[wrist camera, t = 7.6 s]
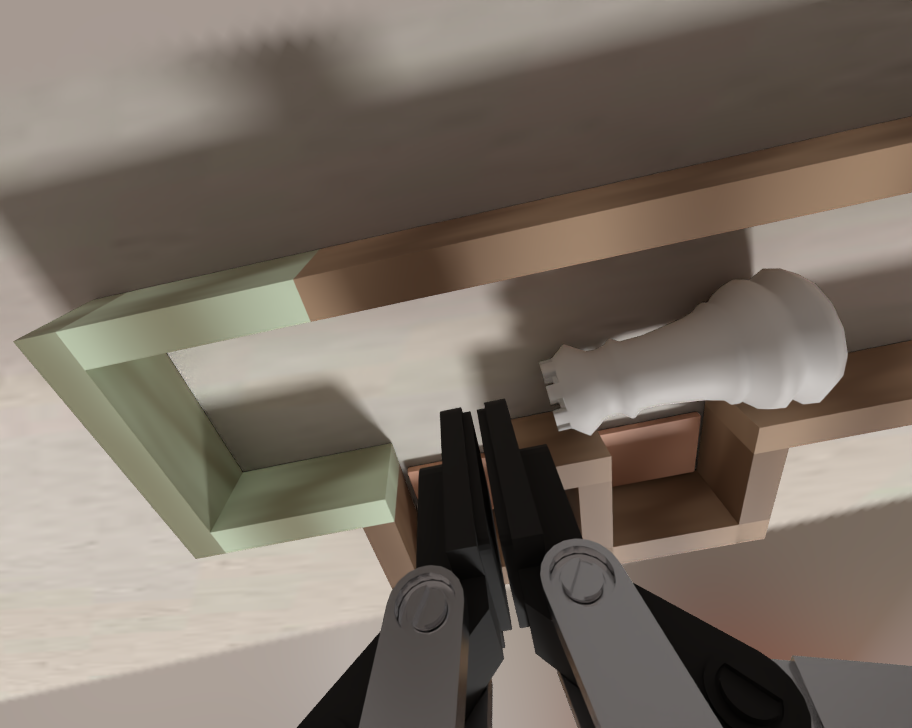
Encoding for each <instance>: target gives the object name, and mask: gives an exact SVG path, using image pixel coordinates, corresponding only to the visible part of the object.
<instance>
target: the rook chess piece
mask: <svg viewBox="0 0 912 728" xmlns="http://www.w3.org/2000/svg"><path fill="white" fill-rule="evenodd" d="M847 357H848V352H847V345H846V339H845V332H844V328H843V325H842V323H841V321H840V319H839V317H838V314H837V312H836V310H835V308H834V306H833V304H832V302H831V301H830V300H829V299H828V298H827V296H826V295H825V294H824V293H823V292H822V291H821V290H820V288H819V287H818V286H817V285H816V284H815V283H813V282H811V281H809V280H808V279H806V278H804V277H802V276H801V275H799V274H796V273H793V272H789V271H786V270H783V269H762V270H760V271H759V272H758V273H757V274H755V275H754V276H753V277H752V278H750V280H739V279H733V280H732V281H730V282H728V283H726V284H725V285H723V286H721V287H720V288H719V289H718V290H717V291H716V292H715V293H714V294H713V295H712V296H711V298H710V299H709V301H708V302H707V303H700V304H699V305H698V306H697V307H696V308H695V309H694V311H693V312H692V313H690V314H688V315H687V316H685V317H683V318H681V319H680V320H677V321H675V322H673V323H670V324H668V325H665V326H663V327H661V328H658V329H656V330H653V331H651V332H648V333H646V334H644V335H641V336H637V337H634V338H630V339H627V340H623V341H616V340H613V339H610V338H609V339H608V340H607V341H606V343H605V344H604V345H603V346H602V347H600V348H597V349H595V350H589V351H583V350H580V349H577V348H574V347H571V346H568V345H565V344H563V345H562V346H561V347H560V349H559V350H558V351H557V352H556V354H555V355H554V356H553V357H552V359H548V360H545V361H541V362H539V365H540V368H541V372H542V375H543V379H544V382H545V384H549V383H553V382H554V384H552V385H548V386H546V389H547V393H548V396H549V400H550V403H551V406H552V405H556V404H560V407H561V409H557V410H553V414H554V417H555V421H556V424H557V428H558V431H562V430H567V429H571V428H572V429H575V430H577V431H580V432H582V433H585V434H587V435H592V434H593V432H594V431H595V430H596V429H597V428H598V427H599V426H600V425H601V423H602V422H603V421H604V420H605V419H606V418H608V417H610V416H613V415H621V414H623V415H625V416H628V417H630V418H635V417H636V416H637V415H638V414H639V412H640V411H641V410H643V409H647V408H651V407H656V406H660V405H666V404H675V403H684V402H693V401H702V400H724V401H726V402H728V403H729V404H731V405H733V404H739V403H741V402H744V403H746V404H748V405H751V406H753V407H755V408H757V409H778V408H786V407H787V406H788V405H789V403H790V402H791V401H792V400H795V401H797V402H799V403H801V404H811V403H820V402H821V401H822V400H823V399H824V397H825V396H826V395H827V394H828V393H829V392H830V391H831V390H832V389H833V388H834V386H835V385H836V384H837V383H838V382H839V380H840V379H841V378H842V377H843V375H844V371H845V366H846V361H847Z"/></svg>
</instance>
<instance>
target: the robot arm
mask: <svg viewBox="0 0 912 728" xmlns="http://www.w3.org/2000/svg"><path fill="white" fill-rule="evenodd" d="M484 405H485V408H484V409H479V410H477V414H478V419H479V425H480V431H481V437H482V443H483V448H484V454H485V460H486V466H487V471H488V477H489V483H490V489H491V495H492V500H493V506H494V512H495V518H496V524H497V529H498V535H499V540H500V544H501V549H502V553H503V558H504V562H505V566H506V571H507V575H508V579H509V583H510V588H511V592H512V596H513V600H514V605H515V609H516V613H517V617H518V621H519V626H520V628H524V627H530V629H531V634H532V639H533V643H534V648H535V653H536V654H537V655H538V656H540V657H541V658H542V659H544V660H545V661H546V662H547V663H549V664H550V665H551V666H553V667H554V668H555V669H557V674H558V677H559V679H560V682H561V685H562V687H563V690H564V693H565V695H566V698H567V701H568V703H569V706H570V709H571V711H572V714H573V717H574V719H575V722H576V725H577V727H578V728H912V666H905V665H893V664H882V663H871V662H860V661H848V660H837V659H825V658H814V657H803V656H792V658H791V660H790V661H786V660H776V659H769V658H768V657H767V656H765V655H764V654H762V653H761V652H759V651H757V650H756V649H754V648H752V647H750V646H748V645H746V644H745V643H743V642H741V641H739V640H737V639H735V638H733V637H732V636H730V635H728V634H726V633H724V632H723V631H721V630H718V629H717V628H715V627H713V626H711V625H709V624H708V623H706V622H704V621H702V620H700V619H699V618H697V617H695V616H693V615H691V614H689V613H688V612H686V611H684V610H682V609H680V608H678V607H676V606H675V605H673V604H671V603H669V602H667V601H666V600H664V599H662V598H660V597H658V596H656V595H654V594H653V593H651V592H649V591H647V590H645V589H643V588H642V587H640V586H638V585H636V584H634V583H632V581H631V579H630V578H629V576H628V575H627V573H626V571H625V570H624V568H623V567H622V565H621V563H620V562H619V561H618V559H617V558H616V557H615V556H614V555H613V553H612V552H611V551H609V550H608V549H607V548H605V547H604V546H602V545H601V544H599V543H596V542H593V541H590V540H586V539H583V538H582V535H581V533H580V530H579V527H578V525H577V522H576V519H575V517H574V514H573V511H572V509H571V506H570V503H569V501H568V498H567V495H566V493H565V490H564V487H563V485H562V482H561V479H560V477H559V474H558V471H557V469H556V466H555V463H554V461H553V458H552V455H551V453H550V450H549V448H548V446H547V444H543V445H538V446H532V447H527V448H522V449H519V446H518V443H517V439H516V436H515V432H514V429H513V425H512V422H511V418H510V415H509V411H508V408H507V404H506V401H505V399H500V400H495V401H490V402H485V403H484ZM440 425H441V449H442V464H440V465H435V466H430V467H425V468H420V470H419V476H418V514H417V551H416V569H414V570H412V571H410V572H408V573H407V574H406V575H405V576H404V577H403V578H401V579H400V580H399V581H398V583H397V584H396V585H395V587H394V588H393V590H392V591H391V594H390V596H389V599H388V602H387V605H386V610H385V614H384V618H383V623H382V628H381V631H380V633H379V634H378V635H377V636H376V637H375V638H374V639H373V641H372V642H371V643H370V644H369V645H368V646H367V648H366V649H365V650H364V651H363V652H362V653H361V654H360V656H359V657H358V658H357V659H356V660H355V661H354V662H353V664H352V665H351V666H350V667H349V668H348V669H347V670H346V672H345V673H344V674H343V675H342V676H341V677H340V679H339V680H338V681H337V682H336V683H335V684H334V685H333V687H332V688H331V689H330V690H329V691H328V692H327V693H326V695H325V696H324V697H323V698H322V699H321V700H320V702H319V703H318V704H317V705H316V706H315V707H314V708H313V710H312V711H311V712H310V713H309V714H308V715H307V717H306V718H305V719H304V720H303V721H302V722H301V723H300V724H299V726H298V727H297V728H492V707H493V706H492V705H493V704H492V703H493V698H492V697H493V684H492V676H493V675H494V673H495V672H496V670H497V669H498V667H499V666H500V664H501V663H502V661H503V659H504V656H503V649H502V648H505V642H504V636H503V631H507V630H512V626H511V619H510V613H509V607H508V602H507V595H506V589H505V583H504V577H503V571H502V565H501V559H500V553H499V547H498V541H497V535H496V530H495V524H494V518H493V512H492V506H491V500H490V494H489V489H488V484H487V480H486V476H485V472H484V467H483V463H482V459H481V454H480V450H479V446H478V441H477V437H476V433H475V429H474V424H473V420H472V416H471V412H470V411H469V412H464V413H463V412H462V409H461V407H460V408H455V409H450V410H445V411H441V412H440Z"/></svg>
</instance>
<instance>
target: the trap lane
mask: <svg viewBox="0 0 912 728" xmlns="http://www.w3.org/2000/svg"><path fill="white" fill-rule="evenodd" d="M911 192H912V116H911V117H906V118H902V119H897V120H893V121H888V122H884V123H880V124H875V125H871V126H866V127H862V128H857V129H853V130H848V131H844V132H839V133H835V134H830V135H826V136H822V137H817V138H813V139H808V140H804V141H799V142H795V143H790V144H786V145H781V146H777V147H773V148H768V149H764V150H759V151H755V152H750V153H746V154H741V155H737V156H732V157H728V158H724V159H719V160H715V161H710V162H706V163H701V164H697V165H692V166H688V167H683V168H679V169H675V170H670V171H666V172H661V173H657V174H652V175H648V176H643V177H639V178H634V179H630V180H626V181H621V182H617V183H612V184H608V185H603V186H599V187H594V188H590V189H585V190H581V191H576V192H572V193H568V194H563V195H559V196H554V197H550V198H545V199H541V200H536V201H532V202H527V203H523V204H519V205H514V206H510V207H505V208H501V209H496V210H492V211H487V212H483V213H478V214H474V215H470V216H465V217H461V218H456V219H452V220H447V221H443V222H438V223H434V224H429V225H425V226H421V227H416V228H412V229H407V230H403V231H398V232H394V233H389V234H385V235H380V236H376V237H372V238H367V239H363V240H358V241H354V242H349V243H345V244H340V245H336V246H331V247H327V248H322V249H318V250H314V251H309V252H305V253H300V254H296V255H291V256H287V257H282V258H278V259H273V260H269V261H265V262H260V263H256V264H251V265H247V266H242V267H238V268H233V269H229V270H224V271H220V272H216V273H211V274H207V275H202V276H198V277H193V278H189V279H184V280H180V281H175V282H171V283H167V284H162V285H158V286H153V287H149V288H144V289H140V290H135V291H131V292H126V293H122V294H118V295H113V296H109V297H104V298H100V299H95V300H92V301H90V302H88V303H86V304H84V305H82V306H80V307H78V308H77V309H75V310H73V311H71V312H69V313H67V314H65V315H63V316H61V317H59V318H57V319H55V320H53V321H51V322H50V323H48V324H46V325H44V326H42V327H40V328H38V329H36V330H34V331H32V332H30V333H28V334H26V335H25V336H23V337H21V338H19V339H17V340H15V341H13V342H14V343H15V344H16V346H17V347H18V348H19V349H20V350H21V352H22V353H23V354H24V355H25V356H26V357H27V359H28V360H29V361H30V362H31V363H32V365H33V366H34V367H35V368H36V369H37V371H38V372H39V373H40V374H41V375H42V377H43V378H44V379H45V380H46V381H47V382H48V384H49V385H50V386H51V387H52V388H53V390H54V391H55V392H56V393H57V394H58V396H59V397H60V398H61V399H62V400H63V401H64V403H65V404H66V405H67V406H68V407H69V409H70V410H71V411H72V412H73V413H74V415H75V416H76V417H77V418H78V419H79V421H80V422H81V423H82V424H83V425H84V426H85V428H86V429H87V430H88V431H89V432H90V434H91V435H92V436H93V437H94V438H95V440H96V441H97V442H98V443H99V444H100V445H101V447H102V448H103V449H104V450H105V451H106V453H107V454H108V455H109V456H110V457H111V459H112V460H113V461H114V462H115V463H116V465H117V466H118V467H119V468H120V469H121V470H122V472H123V473H124V474H125V475H126V476H127V478H128V479H129V480H130V481H131V482H132V484H133V485H134V486H135V487H136V488H137V490H138V491H139V492H140V493H141V494H142V495H143V497H144V498H145V499H146V500H147V501H148V503H149V504H150V505H151V506H152V507H153V509H154V510H155V511H156V512H157V513H158V514H159V516H160V517H161V518H162V519H163V520H164V522H165V523H166V524H167V525H168V526H169V528H170V529H171V530H172V531H173V532H174V534H175V535H176V536H177V537H178V538H179V539H180V541H181V542H182V543H183V544H184V545H185V547H186V548H187V549H188V550H189V551H190V553H191V554H192V555H193V556H194V557H195V558H196V559H198V558H203V557H209V556H214V555H219V554H225V553H230V552H235V551H241V550H246V549H252V548H257V547H262V546H268V545H273V544H278V543H284V542H289V541H294V540H300V539H305V538H310V537H316V536H321V535H326V534H332V533H337V532H342V531H348V530H353V529H358V528H363V529H364V531H365V533H366V535H367V537H368V540H369V542H370V544H371V546H372V548H373V550H374V552H375V554H376V556H377V558H378V560H379V562H380V564H381V566H382V569H383V571H384V573H385V575H386V577H387V579H388V581H389V583H390V585H391V587H392V589H393V588H394V587H395V585H396V584H397V583H398V581H399V580H400V579H401V578H403V577H404V576H405V575H406V574H407V573H408V572H410V571H412V570H414V569H416V551H417V514H418V513H417V510H416V507H415V505H414V502H413V499H412V497H411V494H410V491H409V489H408V486H407V483H406V480H405V478H404V475H403V472H402V470H401V467H400V464H399V462H398V459H397V456H396V453H395V451H394V448H393V445H392V443H389V444H384V445H379V446H374V447H369V448H364V449H359V450H354V451H349V452H344V453H339V454H334V455H329V456H324V457H319V458H313V459H308V460H303V461H298V462H293V463H288V464H283V465H278V466H273V467H268V468H263V469H258V470H253V471H248V472H242V471H241V469H240V468H239V466H238V464H237V463H236V461H235V460H234V458H233V457H232V455H231V454H230V452H229V450H228V449H227V447H226V446H225V444H224V443H223V441H222V439H221V438H220V436H219V435H218V433H217V432H216V430H215V429H214V427H213V425H212V424H211V422H210V421H209V419H208V418H207V416H206V414H205V413H204V411H203V410H202V408H201V407H200V405H199V404H198V402H197V400H196V399H195V397H194V396H193V394H192V393H191V391H190V389H189V388H188V386H187V385H186V383H185V382H184V380H183V378H182V377H181V375H180V374H179V372H178V371H177V369H176V368H175V366H174V364H173V363H172V361H171V360H170V358H169V357H168V355H167V353H168V352H173V351H177V350H182V349H187V348H191V347H196V346H201V345H205V344H210V343H214V342H219V341H224V340H228V339H233V338H238V337H242V336H247V335H252V334H256V333H261V332H266V331H270V330H275V329H279V328H284V327H289V326H293V325H298V324H303V323H307V322H312V321H317V320H321V319H326V318H331V317H335V316H340V315H345V314H349V313H354V312H358V311H363V310H368V309H372V308H377V307H382V306H386V305H391V304H396V303H400V302H405V301H410V300H414V299H419V298H423V297H428V296H433V295H437V294H442V293H447V292H451V291H456V290H461V289H465V288H470V287H475V286H479V285H484V284H489V283H493V282H498V281H502V280H507V279H512V278H516V277H521V276H526V275H530V274H535V273H540V272H544V271H549V270H554V269H558V268H563V267H567V266H572V265H577V264H581V263H586V262H591V261H595V260H600V259H605V258H609V257H614V256H619V255H623V254H628V253H633V252H637V251H642V250H646V249H651V248H656V247H660V246H665V245H670V244H674V243H679V242H684V241H688V240H693V239H698V238H702V237H707V236H711V235H716V234H721V233H725V232H730V231H735V230H739V229H744V228H749V227H753V226H758V225H763V224H767V223H772V222H777V221H781V220H786V219H790V218H795V217H800V216H804V215H809V214H814V213H818V212H823V211H828V210H832V209H837V208H842V207H846V206H851V205H855V204H860V203H865V202H869V201H874V200H879V199H883V198H888V197H893V196H897V195H902V194H907V193H911ZM700 419H701V416H700V414H699V413H698V412H692V413H687V414H682V415H677V416H672V417H667V418H661V419H656V420H651V421H646V422H641V423H636V424H631V425H625V426H620V427H615V428H610V429H605V430H600V431H597V429H596V430H595V431H594V432H593V434H592V435H587V434H585V433H582V432H580V431H577V430H575V429H572V428H571V429H567V430H562V431H558V428H557V424H556V421H555V417H554V414H553V411H551V412H546V413H541V414H536V415H531V416H526V417H521V418H516V419H511V422H512V425H513V429H514V432H515V436H516V439H517V443H518V446H519V449H522V448H527V447H532V446H538V445H543V444H547V446H548V448H549V450H550V453H551V455H552V458H553V461H554V463H555V466H556V469H557V471H558V474H559V477H560V479H561V482H562V485H563V487H564V490H565V493H566V495H567V498H568V501H569V503H570V506H571V509H572V511H573V514H574V517H575V519H576V522H577V525H578V527H579V530H580V533H581V535H582V538H583V539H586V540H590V541H593V542H596V543H599V544H601V545H602V546H604V547H605V548H607V549H608V550H609V551H611V552H612V553H613V555H614V556H615V557H616V558H617V559H618V561H619V562H620V563H621V564H623V563H629V562H635V561H640V560H646V559H652V558H657V557H663V556H669V555H674V554H680V553H685V552H691V551H697V550H703V549H708V548H714V547H719V546H725V545H731V544H736V543H742V542H748V541H753V540H759V539H764V538H765V535H766V531H767V528H768V524H769V520H770V516H771V513H772V509H773V505H774V502H775V498H776V494H777V490H778V487H779V483H780V479H781V476H782V472H783V468H784V464H785V461H786V457H787V453H788V450H789V448H790V447H796V446H801V445H806V444H812V443H817V442H822V441H828V440H833V439H838V438H844V437H849V436H854V435H860V434H865V433H870V432H876V431H881V430H886V429H892V428H897V427H902V426H908V425H912V340H911V341H906V342H901V343H896V344H891V345H885V346H880V347H875V348H870V349H865V350H860V351H855V352H850V353H848V357H847V361H846V366H845V371H844V375H843V377H842V378H841V379H840V380H839V382H838V383H837V384H836V385H835V386H834V388H833V389H832V390H831V391H830V392H829V393H828V394H827V395H826V396H825V397H824V399H823V400H822V401H821V402H820V403H811V404H801V403H799V402H797V401H795V400H792V401H791V402H790V403H789V405H788V406H787V407H786V408H778V409H757V408H755V407H753V406H751V405H748V404H746V403H744V402H741V403H739V404H733V405H731V404H729V403H728V402H726V401H724V400H705V407H704V415H703V423H702V431H701V439H700V447H699V455H698V463H697V470H696V471H694V469H695V461H696V453H697V444H698V436H699V428H700ZM481 459H482V463H483V467H484V472H485V476H486V480H487V484H488V489H489V494H490V500H491V506H492V512H493V518H494V524H495V530H496V535H497V541H498V547H499V553H500V559H501V565H502V571H503V577H504V583H505V584H510V583H509V579H508V575H507V571H506V566H505V562H504V558H503V553H502V549H501V544H500V540H499V535H498V529H497V524H496V518H495V512H494V506H493V500H492V495H491V489H490V483H489V477H488V471H487V466H486V460H485V454H484V453H481ZM440 464H442V461H440V462H435V463H430V464H424V465H419V466H414V467H409V468H408V475H409V478H410V480H411V483H412V486H413V489H414V492H415V494H416V497H417V500H418V476H419V470H420V468H425V467H430V466H435V465H440Z"/></svg>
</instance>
